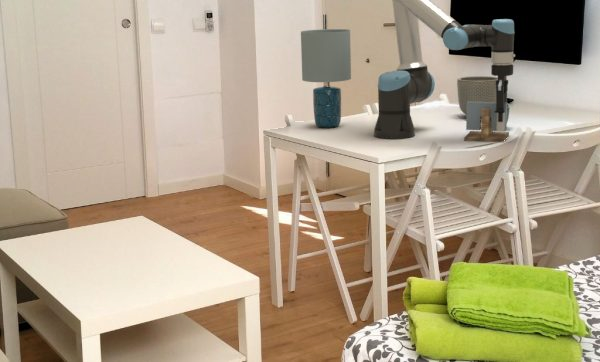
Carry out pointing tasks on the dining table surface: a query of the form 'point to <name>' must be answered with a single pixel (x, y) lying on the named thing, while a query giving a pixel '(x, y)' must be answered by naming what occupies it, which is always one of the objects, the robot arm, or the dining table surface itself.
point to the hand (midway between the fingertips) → (501, 129)
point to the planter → (476, 90)
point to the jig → (486, 130)
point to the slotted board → (475, 115)
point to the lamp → (326, 70)
